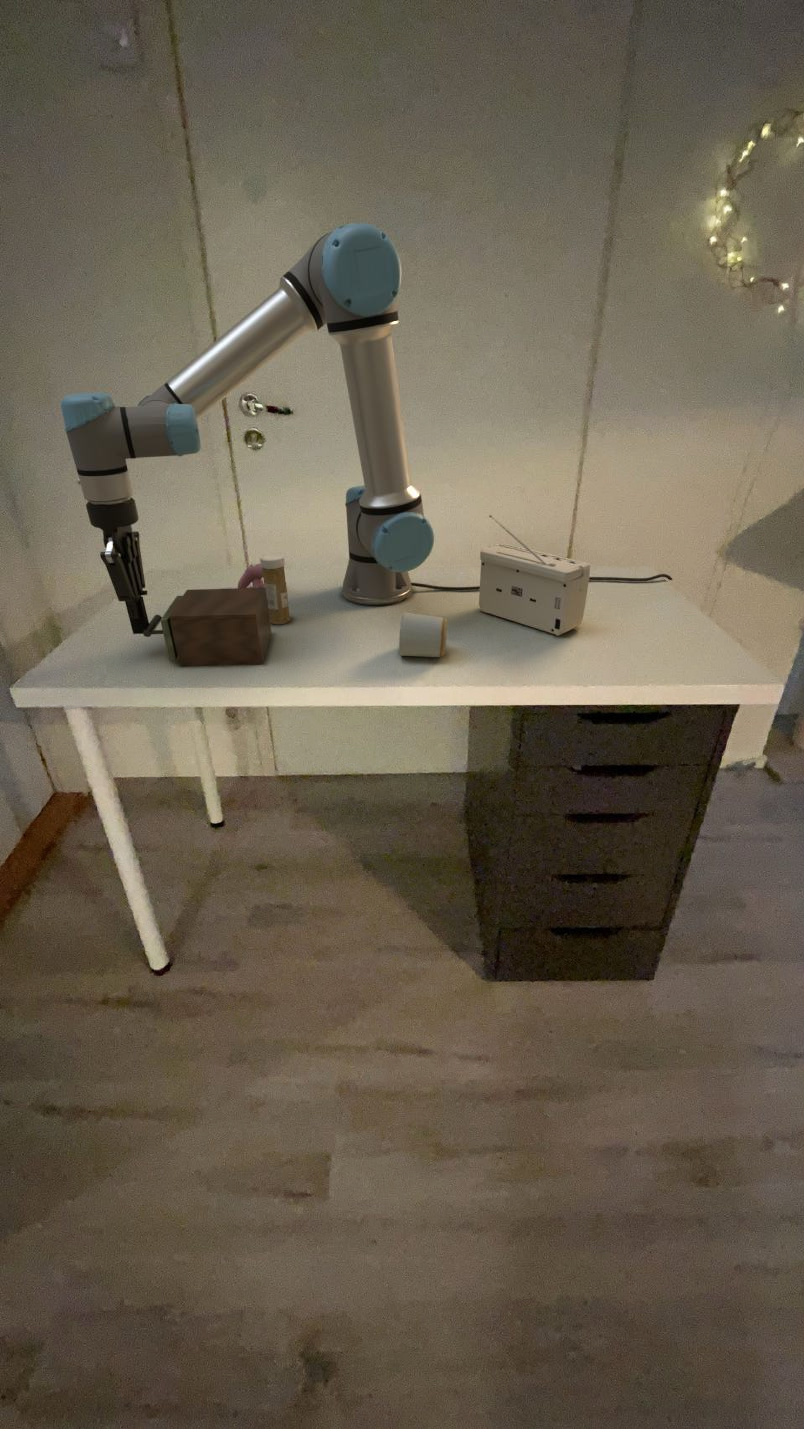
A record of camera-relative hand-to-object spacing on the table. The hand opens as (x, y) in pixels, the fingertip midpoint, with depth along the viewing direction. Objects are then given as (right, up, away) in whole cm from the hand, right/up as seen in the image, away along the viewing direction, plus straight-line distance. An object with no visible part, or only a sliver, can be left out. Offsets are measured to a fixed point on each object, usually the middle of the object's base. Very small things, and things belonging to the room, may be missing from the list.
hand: (141, 632), depth 119 cm
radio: (+73, +4, +13) cm, 74 cm away
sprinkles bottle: (+22, +4, +14) cm, 27 cm away
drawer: (+10, -2, +2) cm, 11 cm away
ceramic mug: (+51, -4, +1) cm, 51 cm away
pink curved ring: (+16, +13, +28) cm, 35 cm away
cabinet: (+15, -3, +2) cm, 15 cm away
